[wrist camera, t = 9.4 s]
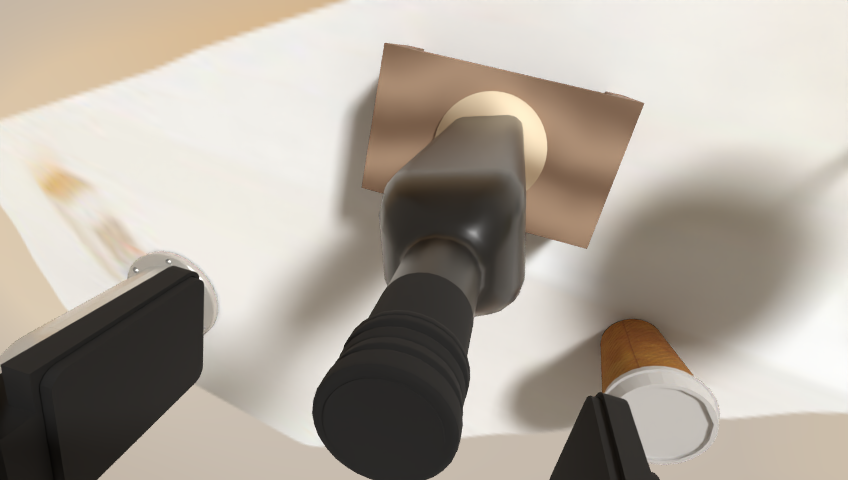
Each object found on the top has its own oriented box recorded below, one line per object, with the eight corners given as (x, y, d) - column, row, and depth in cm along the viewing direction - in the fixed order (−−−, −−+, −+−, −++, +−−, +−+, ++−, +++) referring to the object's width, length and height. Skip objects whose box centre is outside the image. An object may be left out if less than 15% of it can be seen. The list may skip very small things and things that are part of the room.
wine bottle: (452, 186, 38) (275, 515, 10) (449, 116, 36) (220, 296, 8) (522, 186, 37) (529, 553, 9) (523, 113, 35) (536, 309, 7)
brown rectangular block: (577, 218, 45) (587, 250, 37) (386, 167, 47) (360, 188, 40) (622, 95, 40) (645, 103, 33) (408, 45, 42) (383, 42, 35)
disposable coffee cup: (670, 385, 50) (710, 477, 39) (579, 374, 52) (593, 458, 41) (689, 310, 46) (739, 387, 35) (591, 300, 48) (610, 371, 37)
